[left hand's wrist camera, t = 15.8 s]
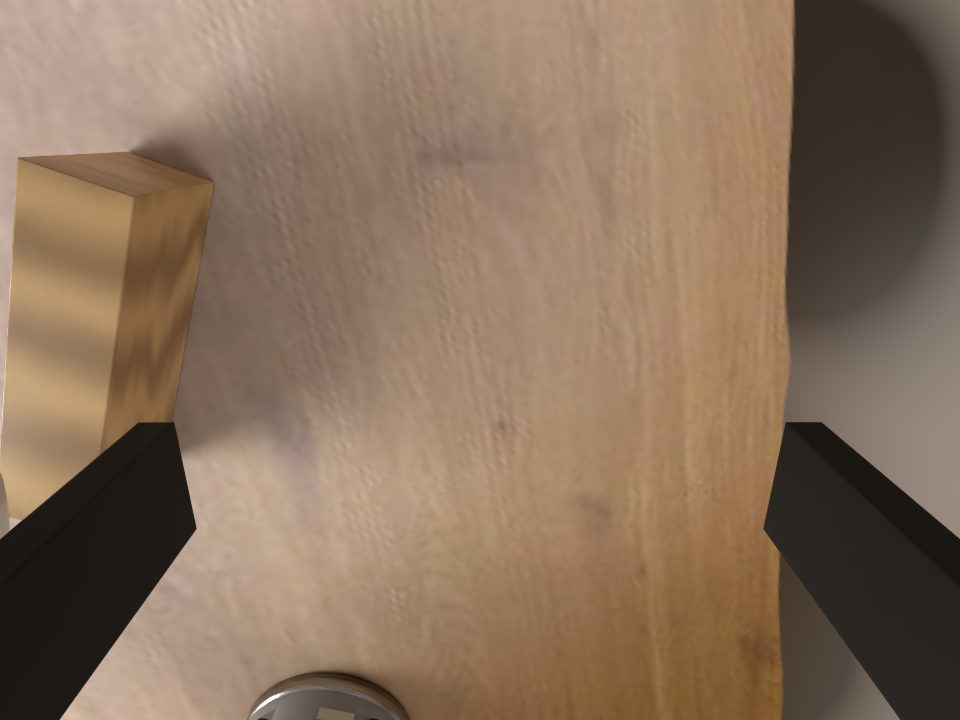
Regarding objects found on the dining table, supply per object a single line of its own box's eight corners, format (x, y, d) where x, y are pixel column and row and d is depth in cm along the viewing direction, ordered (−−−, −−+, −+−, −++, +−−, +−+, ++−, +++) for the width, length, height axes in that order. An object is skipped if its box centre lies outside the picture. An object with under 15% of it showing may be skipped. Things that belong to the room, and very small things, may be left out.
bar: (165, 459, 44) (89, 538, 35) (91, 438, 43) (-5, 513, 35) (215, 181, 37) (134, 196, 28) (126, 151, 36) (16, 156, 27)
